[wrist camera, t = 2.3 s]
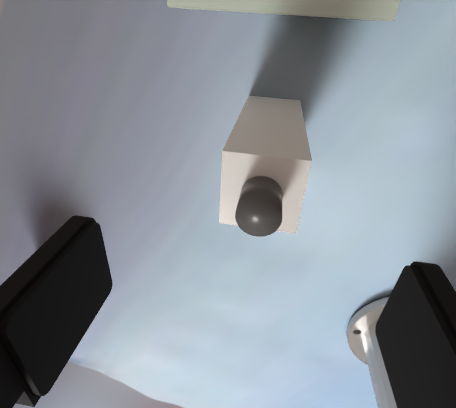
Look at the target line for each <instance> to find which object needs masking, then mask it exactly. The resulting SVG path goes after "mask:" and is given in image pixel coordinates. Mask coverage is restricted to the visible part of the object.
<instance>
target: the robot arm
mask: <svg viewBox="0 0 456 408" xmlns="http://www.w3.org/2000/svg"><path fill="white" fill-rule="evenodd" d="M111 289H112V278H111V274H110V269H109V264H108V260H107V255H106V251H105V246H104V241H103V237H102V232H101V228H100V225H99V224H98V223H96V221H95V220H94V218H90V217H83V216H73V217H71V218H70V219H69V220H68V221H67V222H66V223H65V224H64V225H63V226H62V227H61V228H60V229H59V230H58V231H56V232H55V233H54V234H53V235H52V236H51V237H50V238H49V239H48V240H47V241H46V242H45V243H44V244H43V245H42V246H41V247H40V248H39V249H38V250H37V251H36V252H35V253H34V254H33V255H32V256H31V257H30V258H29V259H28V260H26V261H25V262H24V263H23V264H22V265H21V266H20V267H19V268H18V269H17V270H16V271H15V272H14V273H13V274H12V275H11V276H10V277H9V278H8V279H7V280H6V281H5V282H4V283H3V284H2V285H1V286H0V408H12V407H13V406H14V405H15V403H17V404H22V405H27V406H32V407H35V405H36V403H37V402H38V400H39V399H40V397H41V396H44V395H46V394H47V393H48V392H49V391H50V389H51V388H52V386H53V385H54V383H55V381H56V380H57V378H58V376H59V375H60V373H61V371H62V370H63V368H64V367H65V365H66V363H67V362H68V360H69V359H70V357H71V355H72V354H73V352H74V350H75V349H76V347H77V346H78V344H79V342H80V341H81V339H82V337H83V336H84V334H85V333H86V331H87V329H88V328H89V326H90V324H91V323H92V321H93V320H94V318H95V316H96V315H97V313H98V311H99V310H100V308H101V307H102V305H103V303H104V302H105V300H106V298H107V297H108V295H109V294H110V292H111ZM347 339H348V344H349V347H350V349H351V351H352V352H353V354H354V355H355V356H356V357H357V358H358V359H359V360H361V361H362V362H364V363H365V364H367V365H368V368H369V372H370V376H371V380H372V385H373V389H374V393H375V397H376V401H377V405H378V408H456V292H455V290H454V288H453V287H452V285H451V284H450V282H449V280H448V279H447V277H446V276H445V274H444V272H443V271H442V269H441V268H440V267H439V266H438V265H436V264H430V263H423V262H413V263H412V264H411V265H410V266H405V267H404V269H403V271H402V273H401V275H400V277H399V279H398V281H397V283H396V285H395V287H394V289H393V291H392V293H391V295H390V297H385V298H382V299H379V300H377V301H374V302H372V303H370V304H368V305H366V306H364V307H363V308H362V309H360V310H359V311H358V312H357V313H356V314H355V315H354V316H353V317H352V318H351V320H350V322H349V324H348V327H347Z"/></svg>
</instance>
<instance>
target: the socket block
mask: <svg viewBox="0 0 456 408" xmlns="http://www.w3.org/2000/svg"><path fill="white" fill-rule="evenodd" d="M399 4H400V0H167V6H168V7H174V8H183V9H197V10H213V11H229V12H245V13H261V14H277V15H293V16H309V17H325V18H341V19H357V20H373V21H395V17H396V14H397V10H398V7H399Z"/></svg>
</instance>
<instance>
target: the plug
mask: <svg viewBox="0 0 456 408" xmlns="http://www.w3.org/2000/svg"><path fill="white" fill-rule="evenodd" d="M311 163H312V159H311V154H310V148H309V143H308V138H307V133H306V128H305V122H304V117H303V112H302V107H301V102H300V100H292V99H281V98H270V97H259V96H248V99H247V101H246V103H245V105H244V107H243V109H242V111H241V113H240V115H239V117H238V119H237V122H236V124H235V126H234V128H233V130H232V132H231V134H230V136H229V138H228V140H227V143H226V145H225V147H224V149H223V151H222V171H221V192H220V213H219V223H223V224H230V225H237V226H239V227H240V228H241V229H242V230H243V231H244V232H246V233H247V234H250V235H253V236H267V235H270V234H272V233H274V232H275V231H281V232H288V233H295V234H296V232H297V228H298V223H299V219H300V214H301V209H302V205H303V200H304V195H305V191H306V186H307V182H308V177H309V172H310V168H311Z"/></svg>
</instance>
